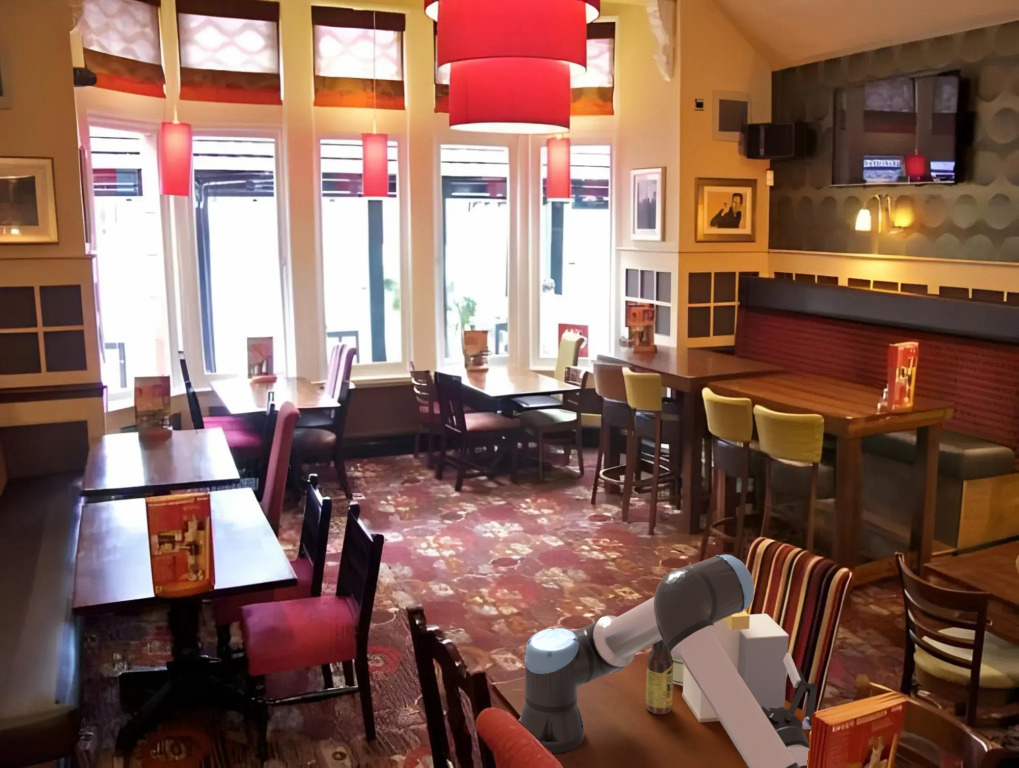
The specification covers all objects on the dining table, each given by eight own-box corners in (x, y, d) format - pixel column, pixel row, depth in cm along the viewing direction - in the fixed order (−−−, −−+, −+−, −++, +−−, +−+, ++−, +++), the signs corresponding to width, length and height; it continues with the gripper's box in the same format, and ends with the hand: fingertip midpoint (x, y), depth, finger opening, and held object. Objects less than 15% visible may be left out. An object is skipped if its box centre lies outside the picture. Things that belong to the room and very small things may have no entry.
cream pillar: (738, 719, 215) (743, 610, 211) (699, 722, 214) (703, 612, 209) (718, 693, 227) (723, 589, 223) (681, 696, 226) (685, 591, 221)
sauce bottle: (671, 717, 216) (674, 637, 213) (644, 714, 217) (647, 635, 214) (672, 703, 222) (675, 625, 219) (646, 700, 224) (648, 623, 220)
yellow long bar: (749, 628, 201) (750, 615, 200) (731, 629, 200) (731, 616, 200) (709, 587, 224) (710, 574, 224) (693, 587, 224) (694, 575, 223)
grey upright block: (783, 724, 213) (788, 635, 209) (742, 728, 211) (746, 637, 208) (762, 699, 224) (766, 613, 221) (722, 701, 223) (726, 616, 219)
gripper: (724, 769, 177) (694, 672, 194) (846, 759, 181) (806, 665, 197) (733, 748, 173) (702, 651, 189) (858, 739, 176) (816, 644, 192)
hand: (755, 658), depth 193 cm, fingers open, 13 cm apart
